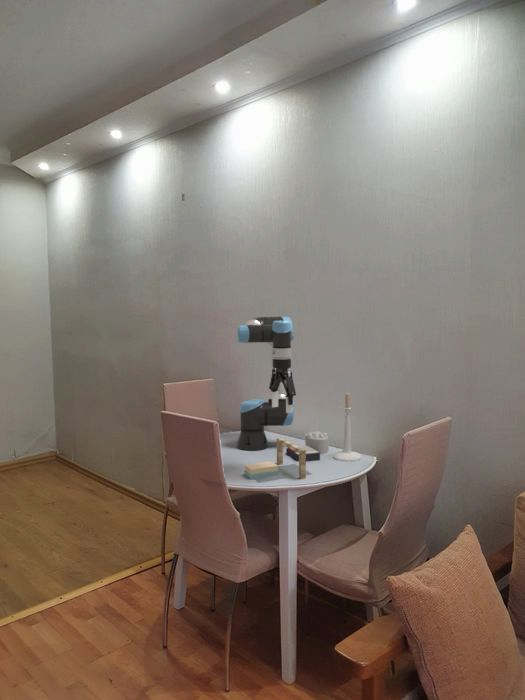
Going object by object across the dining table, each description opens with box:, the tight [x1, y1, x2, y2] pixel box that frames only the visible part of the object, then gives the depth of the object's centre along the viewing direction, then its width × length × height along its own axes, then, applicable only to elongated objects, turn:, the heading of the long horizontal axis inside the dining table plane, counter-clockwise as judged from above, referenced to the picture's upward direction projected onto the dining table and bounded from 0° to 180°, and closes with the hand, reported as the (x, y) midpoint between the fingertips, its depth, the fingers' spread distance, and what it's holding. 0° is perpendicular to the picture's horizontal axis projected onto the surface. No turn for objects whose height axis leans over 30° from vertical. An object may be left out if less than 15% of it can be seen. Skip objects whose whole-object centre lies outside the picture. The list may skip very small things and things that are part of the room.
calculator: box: [285, 445, 321, 463], centre depth 242 cm, size 11×4×15 cm
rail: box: [276, 437, 307, 480], centre depth 219 cm, size 23×2×12 cm, turn 24°
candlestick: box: [332, 392, 363, 462], centre depth 239 cm, size 13×13×30 cm
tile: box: [244, 461, 279, 480], centre depth 214 cm, size 7×12×4 cm, turn 114°
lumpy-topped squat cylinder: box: [304, 430, 330, 455], centre depth 252 cm, size 10×13×9 cm
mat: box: [243, 463, 313, 483], centre depth 217 cm, size 16×24×1 cm, turn 114°
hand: (282, 409), depth 216 cm, fingers open, 13 cm apart
